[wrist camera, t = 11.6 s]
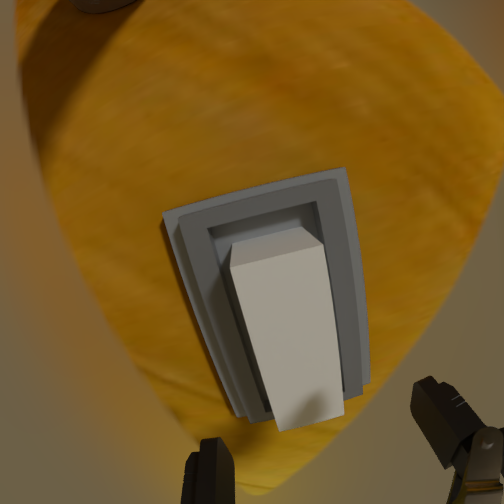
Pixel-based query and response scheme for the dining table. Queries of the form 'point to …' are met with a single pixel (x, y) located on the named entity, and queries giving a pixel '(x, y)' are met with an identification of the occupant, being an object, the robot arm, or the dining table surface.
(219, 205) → the cradle
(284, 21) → the dining table surface
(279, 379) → the off-white tapered block
